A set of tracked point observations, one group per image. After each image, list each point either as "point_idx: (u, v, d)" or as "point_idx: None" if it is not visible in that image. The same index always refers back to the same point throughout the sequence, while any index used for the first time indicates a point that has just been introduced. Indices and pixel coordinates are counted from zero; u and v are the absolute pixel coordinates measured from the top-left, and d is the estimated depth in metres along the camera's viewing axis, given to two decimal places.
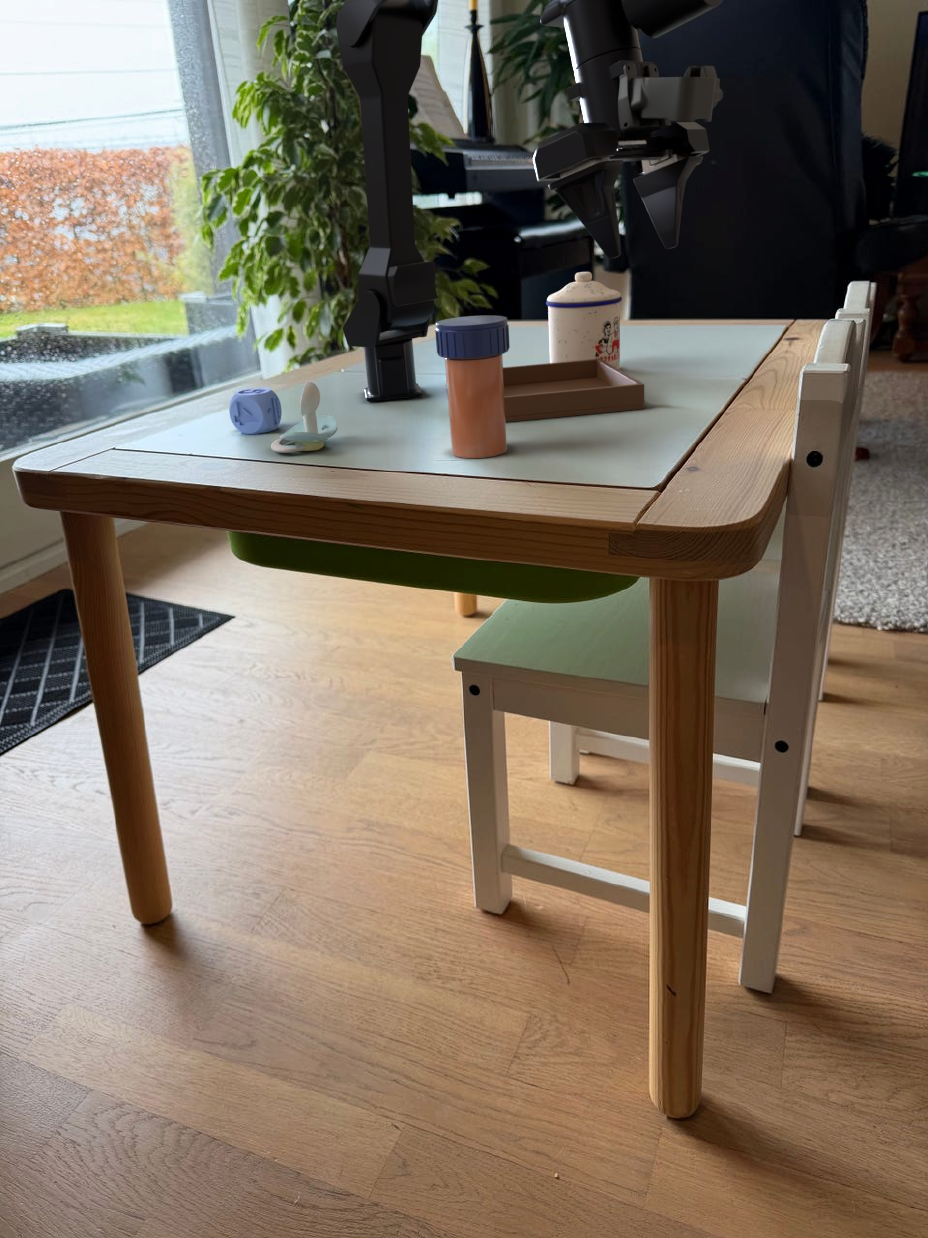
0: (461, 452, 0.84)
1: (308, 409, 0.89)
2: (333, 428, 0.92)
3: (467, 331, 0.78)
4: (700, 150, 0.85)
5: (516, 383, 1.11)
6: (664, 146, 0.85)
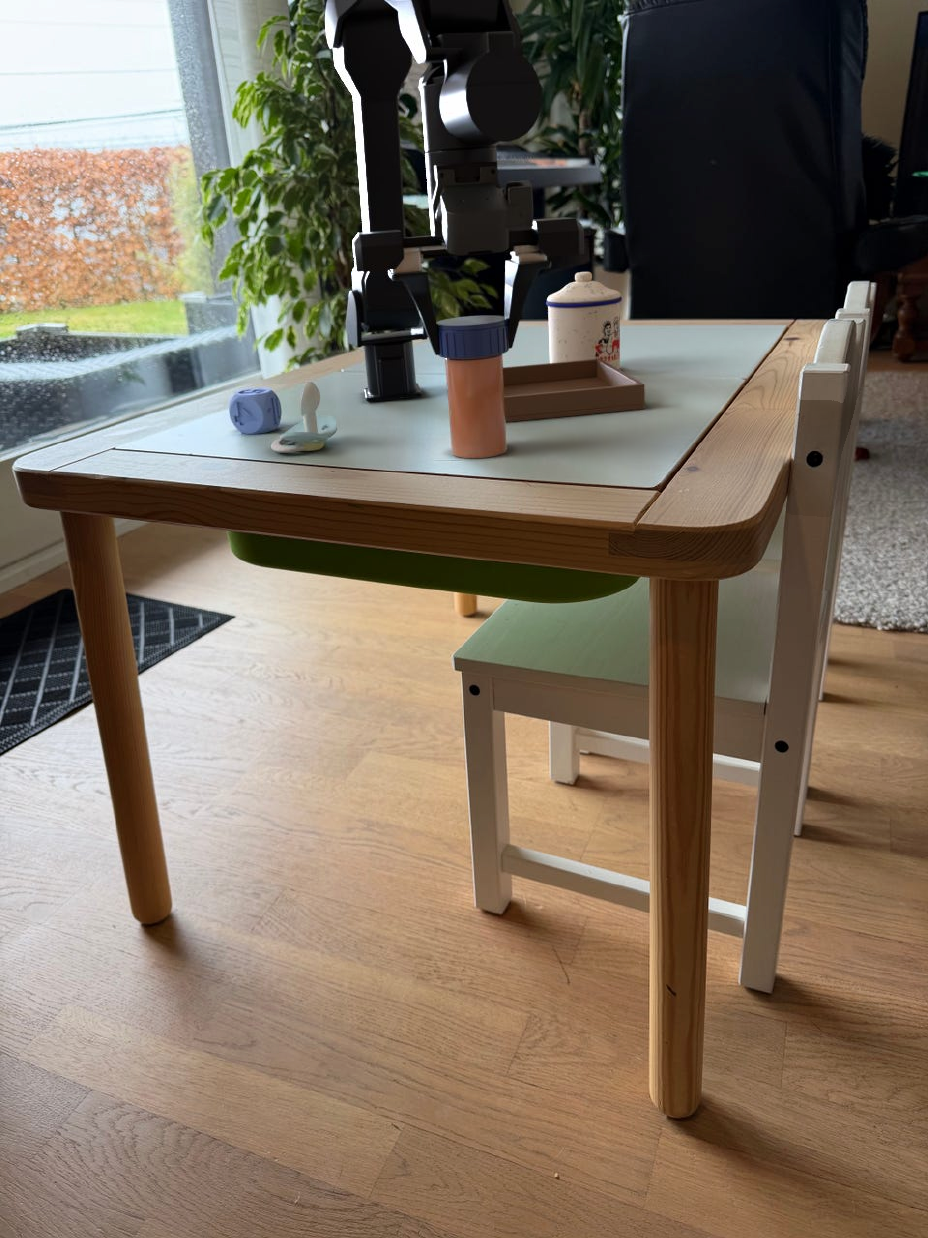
0: (461, 452, 0.84)
1: (308, 409, 0.89)
2: (333, 428, 0.92)
3: (467, 331, 0.78)
4: (560, 255, 0.77)
5: (516, 383, 1.11)
6: (534, 239, 0.79)
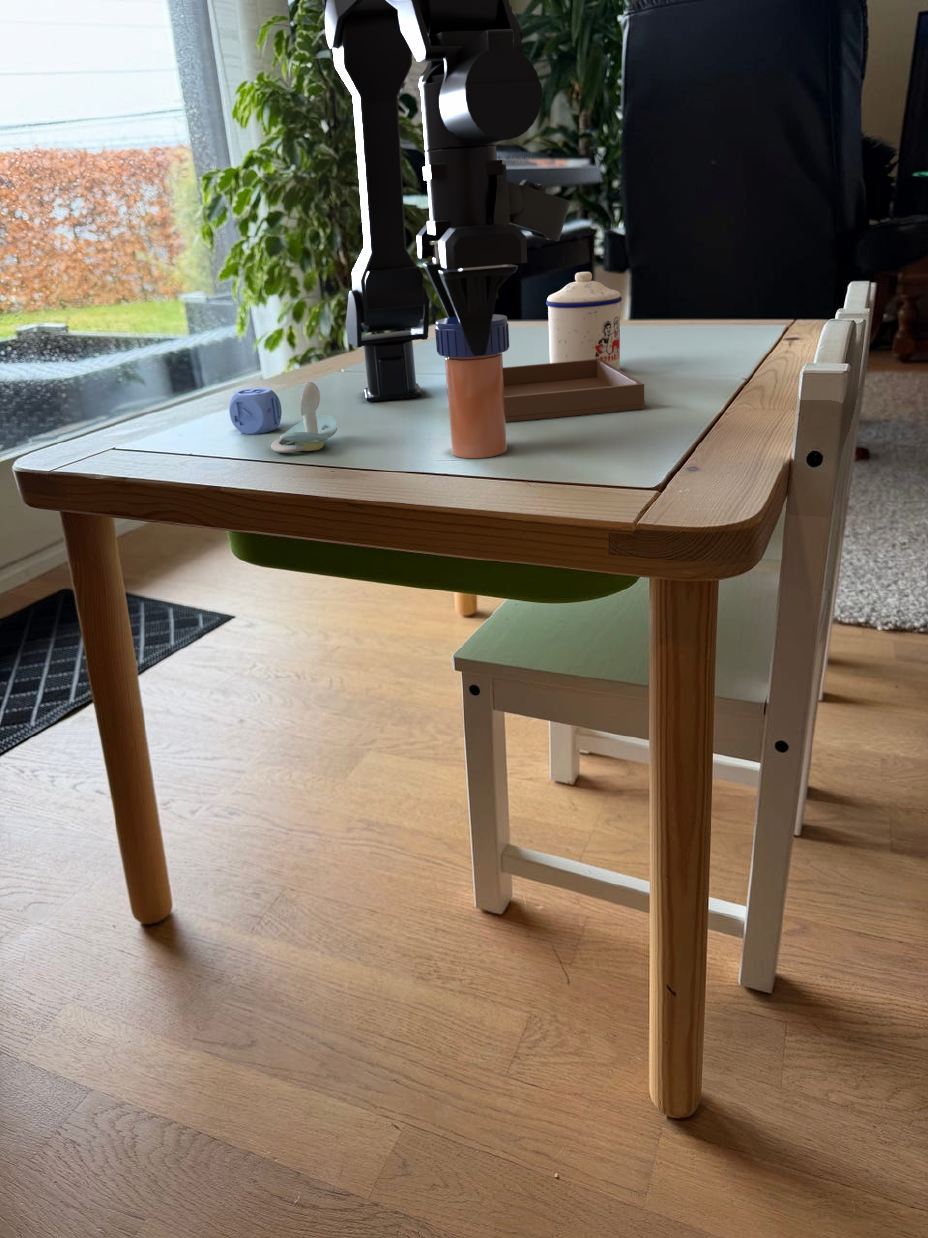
0: (461, 452, 0.84)
1: (308, 409, 0.89)
2: (333, 428, 0.92)
3: None
4: None
5: (516, 383, 1.11)
6: None
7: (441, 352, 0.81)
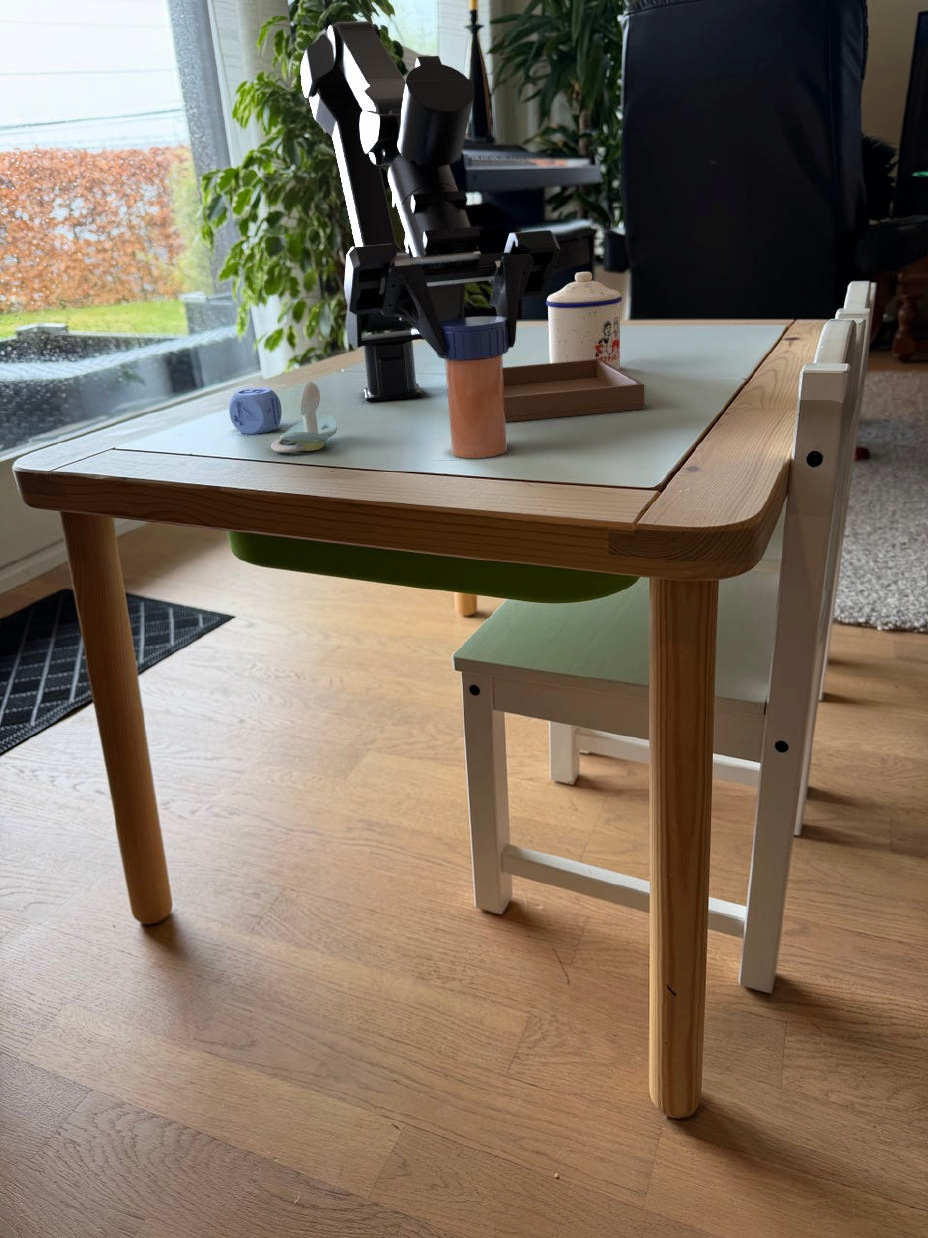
0: (461, 452, 0.84)
1: (308, 409, 0.89)
2: (333, 428, 0.92)
3: None
4: (371, 312, 0.84)
5: (516, 383, 1.11)
6: None
7: (489, 353, 0.80)
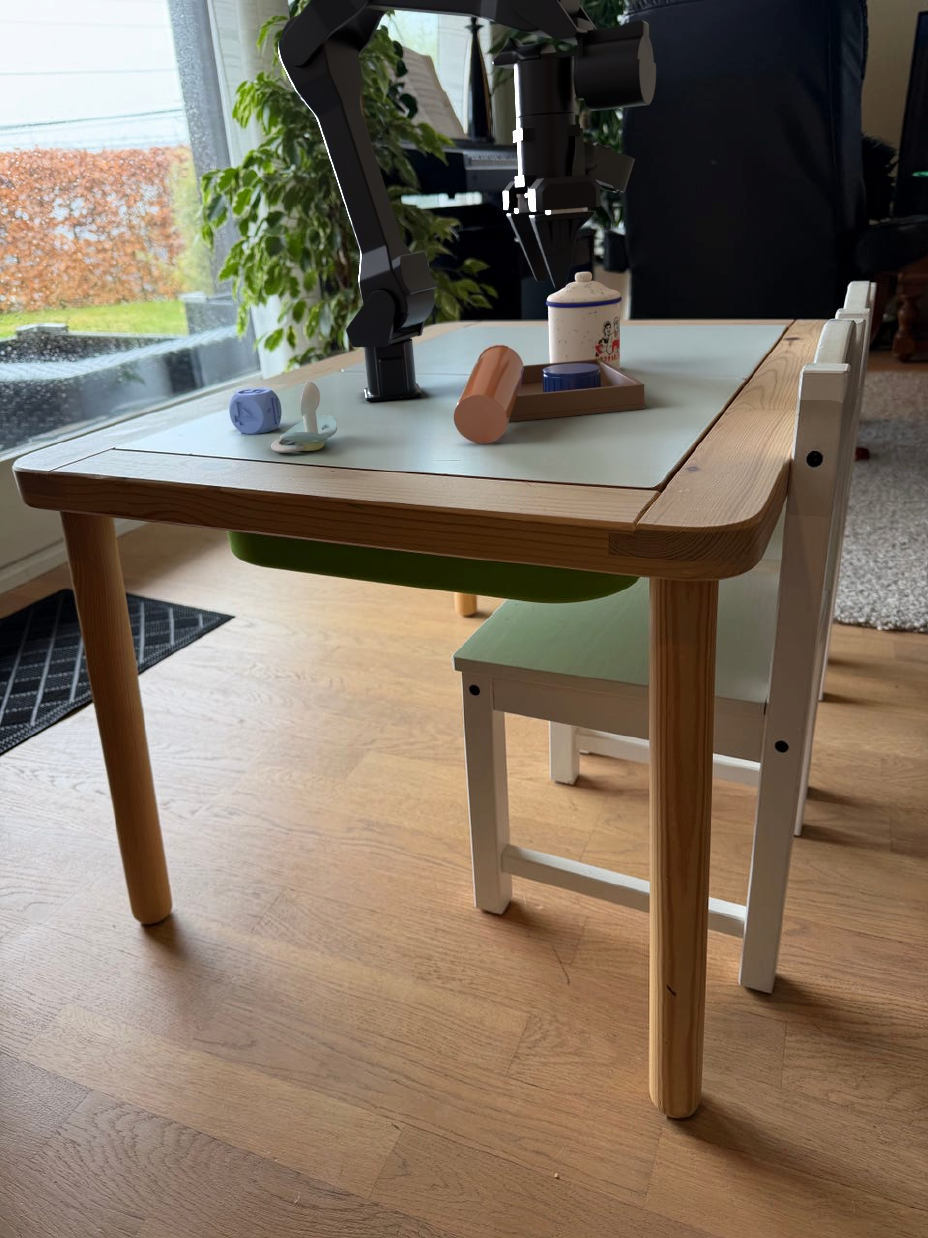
0: (464, 396, 0.86)
1: (308, 409, 0.89)
2: (333, 428, 0.92)
3: (599, 372, 1.02)
4: None
5: None
6: None
7: None
